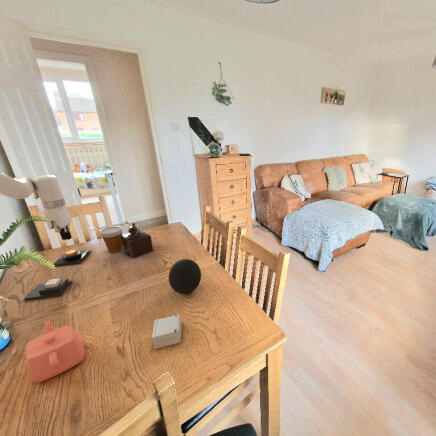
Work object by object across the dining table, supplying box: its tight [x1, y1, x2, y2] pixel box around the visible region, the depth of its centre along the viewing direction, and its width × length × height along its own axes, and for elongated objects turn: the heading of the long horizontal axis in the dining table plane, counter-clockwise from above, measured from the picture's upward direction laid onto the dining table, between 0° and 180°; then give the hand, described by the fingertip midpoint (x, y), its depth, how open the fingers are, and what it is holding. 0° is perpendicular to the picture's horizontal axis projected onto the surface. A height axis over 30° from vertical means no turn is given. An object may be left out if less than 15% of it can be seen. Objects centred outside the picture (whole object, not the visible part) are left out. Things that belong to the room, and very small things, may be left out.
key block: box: [53, 249, 91, 267], centre depth 118 cm, size 10×12×3 cm
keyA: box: [44, 278, 62, 288], centre depth 96 cm, size 4×4×2 cm
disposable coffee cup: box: [99, 226, 124, 254], centre depth 126 cm, size 10×10×12 cm
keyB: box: [64, 249, 77, 256], centre depth 118 cm, size 4×4×2 cm
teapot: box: [25, 319, 85, 383], centre depth 68 cm, size 12×18×10 cm, turn 46°
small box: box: [151, 314, 182, 350], centre depth 79 cm, size 8×8×5 cm
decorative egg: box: [168, 258, 202, 295], centre depth 98 cm, size 12×12×15 cm
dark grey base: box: [23, 278, 72, 302], centre depth 96 cm, size 11×9×3 cm
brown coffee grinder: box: [121, 222, 154, 259], centre depth 123 cm, size 16×11×18 cm
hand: (67, 238), depth 115 cm, fingers closed
